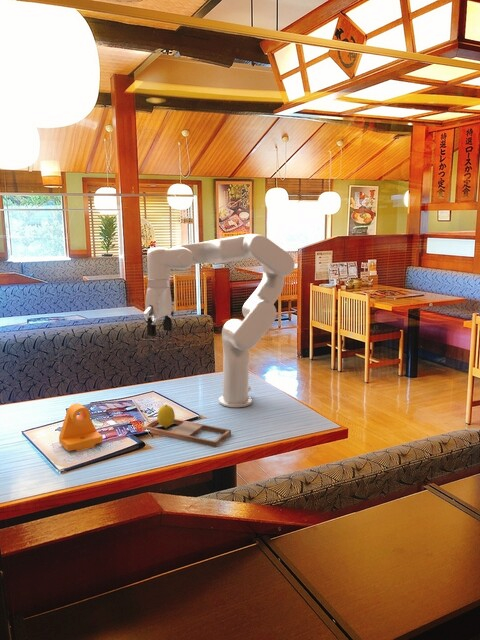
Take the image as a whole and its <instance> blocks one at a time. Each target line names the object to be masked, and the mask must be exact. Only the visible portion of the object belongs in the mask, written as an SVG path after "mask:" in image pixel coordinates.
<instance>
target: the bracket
mask: <svg viewBox="0 0 480 640" xmlns="http://www.w3.org/2000/svg"><path fill="white" fill-rule="evenodd" d="M58 442H59V444H60V445H61V446H62V447H63V448H64V449H65V450H66V451H68V452H69V451H76V452H80V451H83V450H87V449H91V448H94V447H96V445H97V444H100V443H103V435H102V434H101V433H99V431H98V430H97V429H96V427H95V425H94V423H93V420H92V419H91V412H90V410H89V409H88V408H87V407H85V406H84V405H82V404H81V403H73V404H71V405H70V406H69V407H68V408H67V410H66V414H65V417H64V419H63V423H62V427H61V429H60V432H59V436H58Z"/></svg>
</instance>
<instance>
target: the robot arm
mask: <svg viewBox="0 0 480 640" xmlns="http://www.w3.org/2000/svg"><path fill="white" fill-rule="evenodd" d="M146 253H147V259H146V260H147V288H146V293H145V302H144V303H145V305H144V308H145V309H144V312H143V313H142V314H143V318H144V321H145V324H146V329H147V330H146V333H147V336H150V337H156V336H157V325H156V321H157V319H161V318H163V319H162V321H163V323H162V324H163V325H162V327H163V331H166V332H167V331H168V332H171V331H172V330H173V327H172V325H173V323H172V321H173V315H174V311H175V305H173V304H172V303H173V300H172V294H171V269H173V270H174V269H175V270H183V271H184V270H187V269H189V268H191V267H192V266H193V265H196V264H197V265H198V264H223V263H224V264H225V263H228V262H229V263H230V262H236V261H239V260H240V261H241V260H247V259H255V260H256V261H258V263H260V264H261V268H262V279H261V281H260V282H259V284H258V286H257V288H256V289H255V290H254V291H253V292H252V294H250V296H249V297H248V299H247V300H246V301H245V302H244V304H243V306H242V308H241V309H242V310H241V312H242V315H243V317H244V319H243V320H242V319H239V318H231V319H229V320H227V321H226V322H225V323H224V325H223V326H222V329H221V339H222V350H223V353H222V355H223V356H222V360H223V361H222V365H223V366H222V367H223V368H222V395H221V396H219V397H218V404H220V405H221V406H224V407H227V408H243V407H244V408H245V407H248V406H250V405H252V403H253V398H252V397H251V396H250V395H249V392H251V389H252V388H251V386H249V379H250V378H249V374H250V372H249V370H250V369H249V367H250V366H249V365H250V353H249V351H250V350H252V349H253V348H254V347H255V346H256V345H257V344H258V343H259V342H260V341H261V340H262V338H263V337H264V336H265V334H266V333H267V332H268V331H269V330H270V328H271V327H272V325H273V324H274V323H275V321H276V317H277V308H276V306H275V305H274V304H275V303H276V302H277V300H278V299H279V297H280V295H282V292H283V290H284V286H285V277H287V276H290V275H291V274H292V273H293V272H294V270H295V264H296V263H295V259H293V256H292V255H290V253H288V252H287V251H286V250H284V249H283V248H281V246H278V245H277V244H276V243H274V241H272V240H270V239H269V238H268V237H266V236H265V235H262V234H260V233H259V234H258V233H257V234H256V233H248V234H241V235H235V236H228V237H224V238H217V239H211V240H207V241H201V242H200V241H199V242H194V243H193V242H192V243H188V244H181V245H180V244H179V245H175V246H173V247H171V248H168V247H167V248H166V247H150V248H148V250H147V252H146Z"/></svg>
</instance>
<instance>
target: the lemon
mask: <svg viewBox="0 0 480 640" xmlns="http://www.w3.org/2000/svg"><path fill="white" fill-rule="evenodd" d="M157 418H158V422H159V423H158V424H159V425H161V427H164V429H168V427H170V426H172V425H174V424H173V422H174V419H176V415H175V411H174V408H173V407H172V406H170V405H168V404H164V405H162V406H161V407H160V408H159V410H158V412H157Z"/></svg>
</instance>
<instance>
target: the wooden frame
mask: <svg viewBox="0 0 480 640" xmlns="http://www.w3.org/2000/svg"><path fill="white" fill-rule="evenodd" d="M157 423H158V424H159V422H158V417H156V418H155V419H153V420H152V421H150V422H148V423H147V424H146V423H145V424H144V425H143V426H141V427H142V428H143V429H147V430H150V431H151V432H150V434H153V435H158V436H164V437H167V438H172V439H176V440H182V441H186V442H190V443H195V444H200V445H204V446H208V447H213V448H217V446H219V445H220V444H222V442H224V441H226V439H227V438H229V437H230V436H231V435H232V429H229V428H228V429H227V428H224V427H223V428H222V427H218V426H212V425H207V424H204V423H199V422H194V421H193V422H192V421H187V420H183V419H177V418H175V419H174V422H173V423H174V424H175V425H176V427H174V428H173V429H170V430H169V431H168V430H164V429H160V428H156V427H155V426H156V425H158V424H157ZM174 424H173V425H174ZM154 425H155V426H154ZM152 426H153V427H152ZM142 428H141V429H142ZM202 431H207V432H211V433H216V434H221V435H220V436H218V437H217V438H216V439H215V440H211V439H206V438H201V437H198V436H197V435H198V434H199V433H201V432H202ZM196 436H197V437H196Z"/></svg>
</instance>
